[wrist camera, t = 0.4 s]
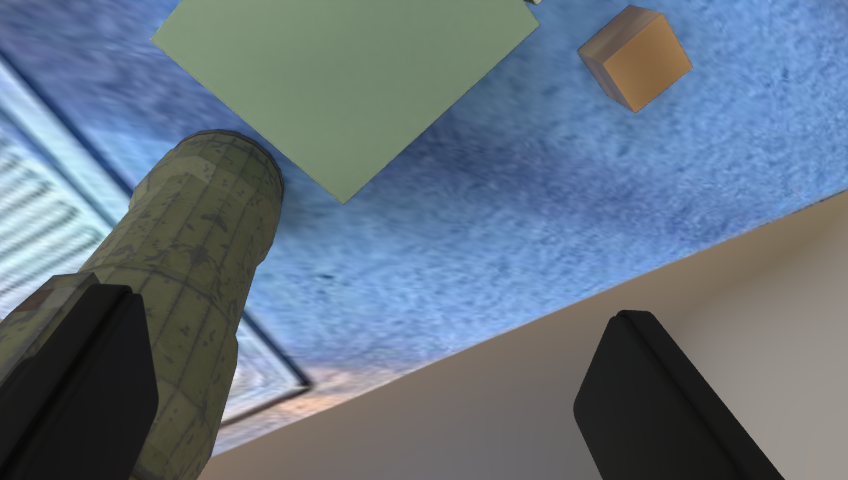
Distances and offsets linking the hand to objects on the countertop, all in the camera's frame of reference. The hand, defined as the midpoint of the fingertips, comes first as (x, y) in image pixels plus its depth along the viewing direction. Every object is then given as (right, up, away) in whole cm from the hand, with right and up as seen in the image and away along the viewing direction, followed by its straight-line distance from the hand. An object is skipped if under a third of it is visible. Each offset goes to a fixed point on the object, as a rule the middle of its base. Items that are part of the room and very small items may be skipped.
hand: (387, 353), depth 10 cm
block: (+15, +16, +26) cm, 34 cm away
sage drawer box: (-4, +18, +23) cm, 29 cm away
